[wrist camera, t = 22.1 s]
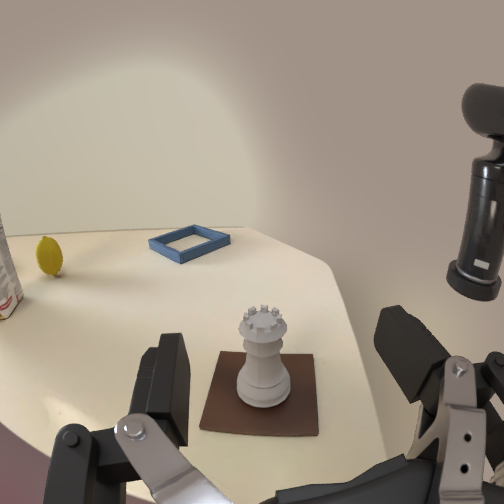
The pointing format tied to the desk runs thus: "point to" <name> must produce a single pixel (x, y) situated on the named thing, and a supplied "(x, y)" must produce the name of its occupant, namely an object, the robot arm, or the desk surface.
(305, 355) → the walnut coaster
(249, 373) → the rook chess piece
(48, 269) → the lemon
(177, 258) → the blue tray
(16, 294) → the juice carton
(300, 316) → the desk surface
